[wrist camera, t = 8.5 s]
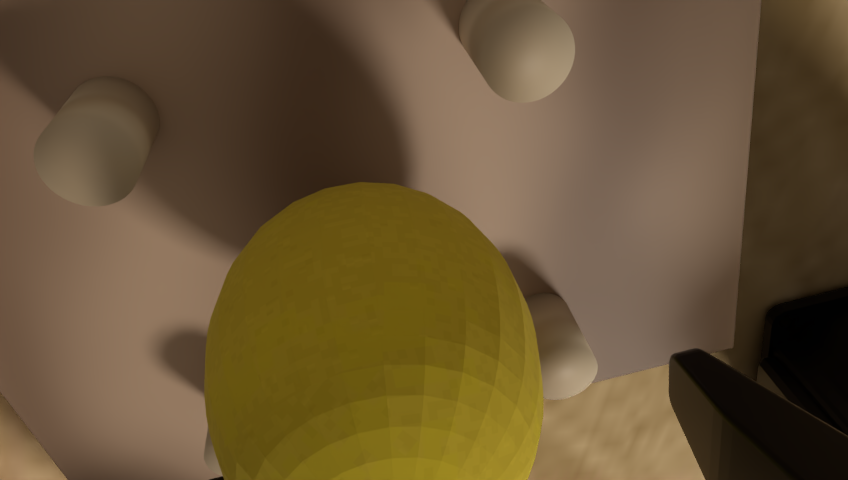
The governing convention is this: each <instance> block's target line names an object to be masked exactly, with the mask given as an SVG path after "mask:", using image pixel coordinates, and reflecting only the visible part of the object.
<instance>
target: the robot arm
mask: <svg viewBox="0 0 848 480" xmlns="http://www.w3.org/2000/svg"><path fill="white" fill-rule="evenodd" d="M669 397H670V401H671V405H672V407H673V410H674V412H675V414H676V416H677V419H678V421H679V423H680V425H681V427H682V430H683V432H684V434H685V436H686V438H687V440H688V443H689V445H690V447H691V449H692V451H693V454H694V456H695V458H696V460H697V462H698V464H699V467H700V469H701V471H702V473H703V475H704V478H705V480H848V287H847V288H843V289H839V290H835V291H831V292H827V293H824V294H820V295H816V296H812V297H808V298H804V299H800V300H796V301H792V302H788V303H784V304H780V305H777V306H775V307H774V308H772V309H771V310H770V311H769V312H768V313H767V315H766V318H765V327H764V336H763V345H762V353H761V361H760V363H759V366H758V374H757V382H756V381H754V380H753V379H751V378H749V377H748V376H746V375H744V374H742V373H741V372H739V371H737V370H736V369H734V368H732V367H731V366H729V365H727V364H726V363H724V362H722V361H721V360H719V359H717V358H715V357H714V356H712V355H710V354H709V353H707V352H705V351H704V350H701V349H698V348H693V349H689V350H685V351H681V352H677V353H674V354H672V355H671V357H670V360H669Z"/></svg>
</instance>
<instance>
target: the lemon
mask: <svg viewBox="0 0 848 480" xmlns="http://www.w3.org/2000/svg"><path fill="white" fill-rule="evenodd" d="M204 398H205V408H206V417H207V423H208V428H209V434H210V437H211V441H212V444H213V448H214V452H215V455H216V458H217V460H218V463H219V466H220V469H221V472H222V475H223V478H224V480H527V479H528V477H529V474H530V471H531V469H532V466H533V463H534V460H535V456H536V451H537V447H538V442H539V437H540V433H541V426H542V419H543V383H542V374H541V367H540V359H539V352H538V345H537V338H536V332H535V328H534V324H533V320H532V316H531V313H530V311H529V308H528V305H527V303H526V301H525V298H524V296H523V294H522V292H521V290H520V288H519V286H518V284H517V282H516V280H515V278H514V276H513V274H512V272H511V270H510V268H509V266H508V264H507V262H506V261H505V259H504V258H503V256H502V255H501V253H500V252H499V250H498V249H497V248H496V247H495V246H494V245H493V243H492V242H491V241H490V240H489V239H488V238H487V237H486V236H485V235H484V234H483V233H482V232H481V231H480V230H479V229H478V228H477V227H476V226H475V225H474V224H473V223H472V222H471V220H470V219H469V218H467V217H466V216H465V215H464V214H462V213H461V212H460V211H458V210H456V209H454V208H453V207H451V206H449V205H447V204H446V203H444V202H442V201H440V200H439V199H437V198H435V197H433V196H432V195H429V194H427V193H425V192H421V191H418V190H414V189H411V188H407V187H404V186H400V185H397V184H390V183H369V182H357V183H352V184H346V185H341V186H335V187H330V188H325V189H322V190H320V191H318V192H315V193H313V194H311V195H308V196H306V197H304V198H302V199H299V200H297V201H295V202H293V203H292V204H290V205H289V206H287V207H286V208H285V209H283V210H282V211H281V212H279V213H278V214H277V215H275V216H274V217H273V218H271V219H270V220H269V221H267V222H266V223H265V224H264V225H262V226H261V227H260V228H259V229H258V231H257V232H256V233H255V235H254V236H253V237H252V238H251V240H250V241H249V242H248V244H247V245H246V246H245V248H244V249H243V250H242V251H241V253H240V254H239V255H238V257H237V258H236V259H235V261H234V262H233V264H232V266H231V267H230V269H229V271H228V273H227V276H226V278H225V281H224V284H223V286H222V289H221V291H220V294H219V297H218V299H217V302H216V305H215V307H214V310H213V313H212V316H211V319H210V323H209V327H208V332H207V340H206V352H205V379H204Z"/></svg>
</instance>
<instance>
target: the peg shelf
mask: <svg viewBox="0 0 848 480" xmlns="http://www.w3.org/2000/svg"><path fill="white" fill-rule="evenodd" d="M760 12H761V0H0V392H1V393H2V395H3V396H4V397H5V399H6V400H7V401H8V402H9V404H10V405H11V406H12V408H13V409H14V410H15V412H16V413H17V414H18V415H19V417H20V418H21V419H22V421H23V422H24V423H25V425H26V426H27V427H28V428H29V430H30V431H31V432H32V434H33V435H34V436H35V438H36V439H37V440H38V441H39V443H40V444H41V445H42V447H43V448H44V449H45V451H46V452H47V453H48V454H49V456H50V457H51V458H52V460H53V461H54V462H55V464H56V465H57V466H58V467H59V469H60V470H61V471H62V473H63V474H64V475H65V477H66V478H67V479H68V480H209V479H213V478H217V477H221V476H223V475H222V472H221V469H220V466H219V463H218V460H217V458H216V455H215V452H214V448H213V444H212V441H211V437H210V434H209V428H208V423H207V417H206V408H205V398H204V379H205V352H206V340H207V332H208V327H209V323H210V319H211V316H212V313H213V310H214V307H215V305H216V302H217V299H218V297H219V294H220V291H221V289H222V286H223V284H224V281H225V278H226V276H227V273H228V271H229V269H230V267H231V266H232V264H233V262H234V261H235V259H236V258H237V257H238V255H239V254H240V253H241V251H242V250H243V249H244V248H245V246H246V245H247V244H248V242H249V241H250V240H251V238H252V237H253V236H254V235H255V233H256V232H257V231H258V229H259V228H260V227H261V226H262V225H264V224H265V223H266V222H267V221H269V220H270V219H271V218H273V217H274V216H275V215H277V214H278V213H279V212H281V211H282V210H283V209H285V208H286V207H287V206H289V205H290V204H292V203H293V202H295V201H297V200H299V199H302V198H304V197H306V196H308V195H311V194H313V193H315V192H318V191H320V190H322V189H325V188H330V187H335V186H341V185H346V184H352V183H357V182H369V183H390V184H397V185H400V186H404V187H407V188H411V189H414V190H418V191H421V192H425V193H427V194H429V195H432V196H433V197H435V198H437V199H439V200H440V201H442V202H444V203H446V204H447V205H449V206H451V207H453V208H454V209H456V210H458V211H460V212H461V213H462V214H464V215H465V216H466V217H467V218H469V219H470V220H471V222H472V223H473V224H474V225H475V226H476V227H477V228H478V229H479V230H480V231H481V232H482V233H483V234H484V235H485V236H486V237H487V238H488V239H489V240H490V241H491V242H492V243H493V245H494V246H495V247H496V248H497V249H498V250H499V252H500V253H501V255H502V256H503V258H504V259H505V261H506V262H507V264H508V266H509V268H510V270H511V272H512V274H513V276H514V278H515V280H516V282H517V284H518V286H519V288H520V290H521V292H522V294H523V296H524V298H525V301H526V303H527V305H528V308H529V311H530V313H531V316H532V320H533V324H534V328H535V332H536V338H537V345H538V352H539V359H540V367H541V374H542V383H543V398H545V399H550V400H560V399H566V398H569V397H572V396H575V395H577V394H579V393H580V392H582V391H583V390H585V389H586V388H587V387H588V386H589V385H590V384H591V383H594V382H598V381H602V380H606V379H610V378H614V377H618V376H622V375H626V374H630V373H634V372H638V371H642V370H646V369H650V368H654V367H658V366H662V365H666V364H669V360H670V357H671V355H672V354H674V353H677V352H681V351H685V350H689V349H693V348H698V349H701V350H704V351H705V352H707V353H709V354H710V353H714V352H718V351H722V350H726V349H729V348H733V346H734V334H735V321H736V309H737V297H738V284H739V272H740V260H741V247H742V235H743V223H744V210H745V198H746V185H747V173H748V161H749V148H750V136H751V124H752V111H753V99H754V86H755V74H756V62H757V49H758V37H759V25H760Z"/></svg>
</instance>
